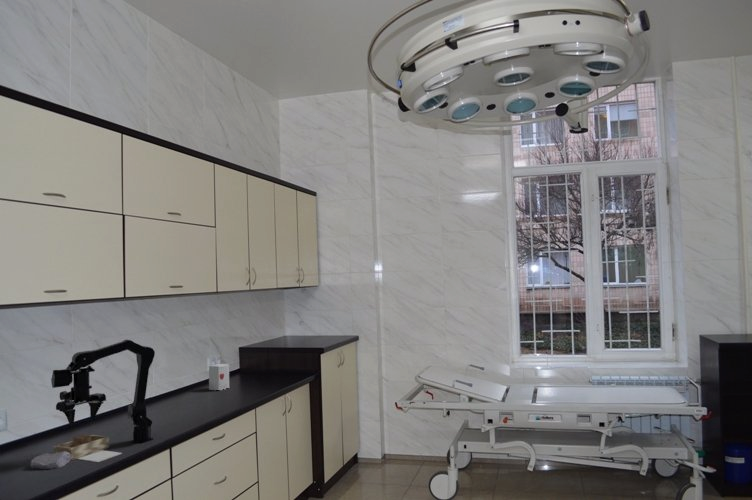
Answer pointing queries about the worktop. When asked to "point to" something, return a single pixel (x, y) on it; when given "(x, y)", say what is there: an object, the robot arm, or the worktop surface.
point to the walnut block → (81, 440)
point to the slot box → (84, 447)
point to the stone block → (51, 460)
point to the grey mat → (99, 456)
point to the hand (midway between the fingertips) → (82, 423)
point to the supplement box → (218, 376)
